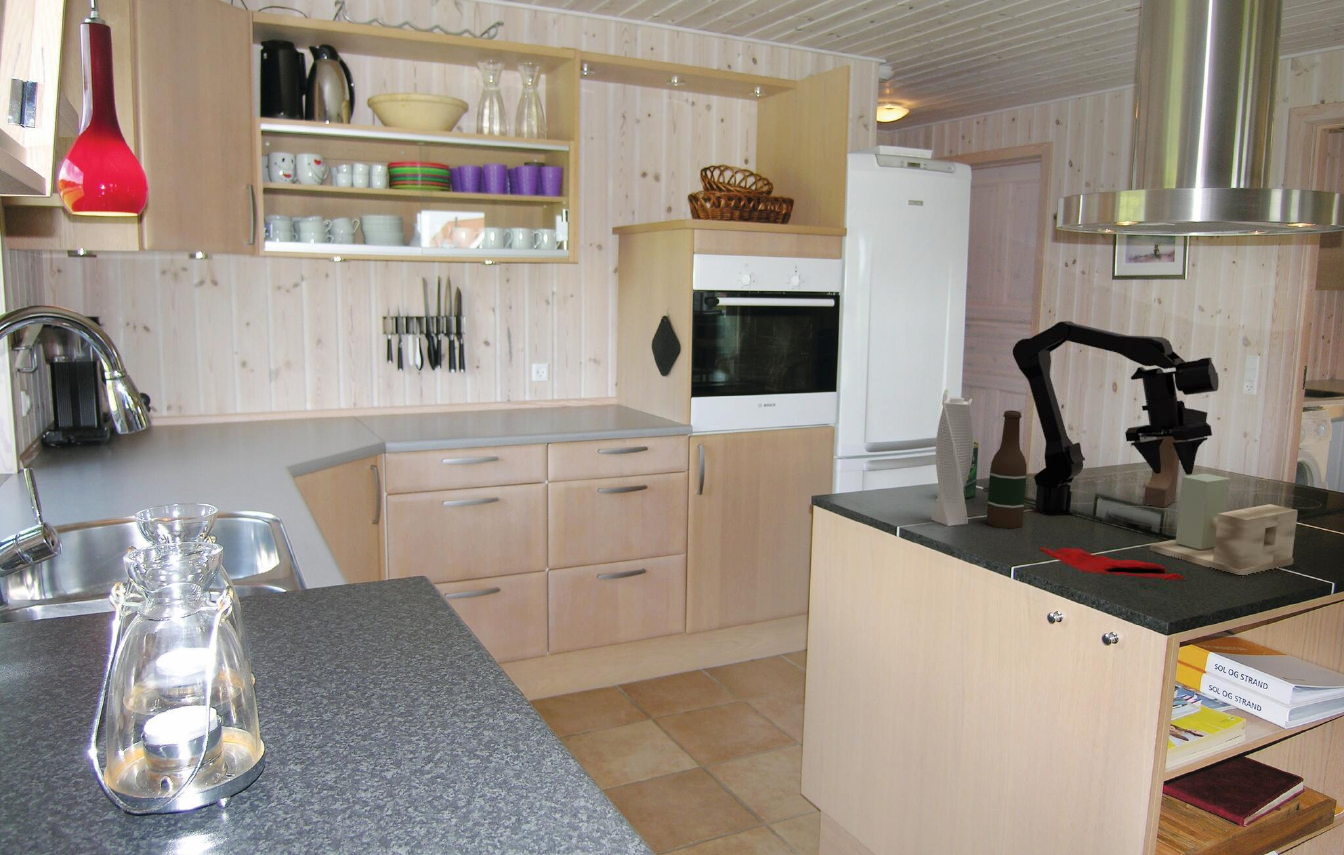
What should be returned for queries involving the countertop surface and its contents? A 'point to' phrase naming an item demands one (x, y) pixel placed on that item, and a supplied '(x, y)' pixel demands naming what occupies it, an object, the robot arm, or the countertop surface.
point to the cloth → (1105, 563)
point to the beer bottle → (1007, 477)
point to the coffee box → (972, 475)
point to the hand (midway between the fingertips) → (1173, 474)
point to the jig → (1243, 541)
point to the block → (1201, 509)
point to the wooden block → (1164, 476)
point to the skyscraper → (953, 460)
